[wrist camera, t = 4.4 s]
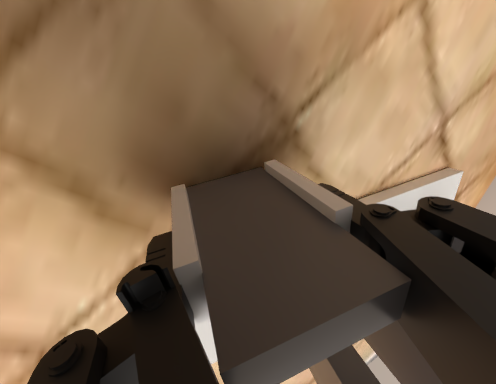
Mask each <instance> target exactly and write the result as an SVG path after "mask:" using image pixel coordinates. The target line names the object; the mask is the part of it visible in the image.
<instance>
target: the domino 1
mask: <svg viewBox="0 0 496 384" xmlns="http://www.w3.org/2000/svg"><path fill="white" fill-rule="evenodd" d="M186 190H187V194H188V199H189V204H190V209H191V215H192V220H193V225H194V230H195V235H196V240H197V246H198V251H199V256H200V261H201V266H202V272H203V273H202V279H203V284H204V290H205V295H206V300H207V306H208V311H209V317H210V322H211V327H212V333H213V338H214V344H215V349H216V355H217V360H218V365H219V371H220V375H221V377H222V380H223V382H224V384H280V383H282V382H284V381H285V380H287V379H289V378H291V377H293V376H295V375H296V374H298V373H300V372H302V371H304V370H306V369H308V368H309V367H311V366H313V365H315V364H317V363H319V362H321V361H322V360H324V359H326V358H328V357H330V356H332V355H334V354H335V353H337V352H339V351H341V350H343V349H345V348H346V347H348V346H350V345H352V344H354V343H356V342H358V341H359V340H361V339H363V338H365V337H367V336H369V335H371V334H372V333H374V332H376V331H378V330H380V329H382V328H384V327H385V326H387V325H389V324H391V323H393V322H395V321H397V320H398V319H400V318H401V315H402V311H403V308H404V304H405V301H406V298H407V294H408V291H409V287H410V284H411V279H410V278H409V277H407V276H406V275H405V274H403V273H402V272H401V271H399V270H398V269H397V268H395V267H394V266H393V265H391V264H390V263H389V262H387V261H386V260H385V259H383V258H382V257H381V256H379V255H378V254H377V253H375V252H374V251H373V250H371V249H370V248H369V247H367V246H366V245H365V244H363V243H362V242H361V241H359V240H358V239H357V238H355V237H354V236H353V235H351V234H350V233H349V232H347V231H346V230H345V229H343V228H342V227H341V226H339V225H338V224H337V223H334V222H332V221H331V220H330V219H329V218H327V217H326V216H325V215H323V214H322V213H321V212H319V211H318V210H317V209H315V208H314V207H313V206H311V205H310V204H309V203H307V202H306V201H305V200H303V199H302V198H301V197H299V196H298V195H297V194H295V193H294V192H293V191H291V190H290V189H289V188H287V187H286V186H285V185H283V184H282V183H281V182H280V181H278V180H277V179H276V178H274V177H273V176H272V175H270V174H269V173H268V172H266V171H265V170H264V169H263V168H262V167H259V168H256V169H252V170H248V171H245V172H241V173H237V174H234V175H230V176H227V177H223V178H219V179H216V180H212V181H208V182H205V183H201V184H197V185H194V186H190V187H186Z"/></svg>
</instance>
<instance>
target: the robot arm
mask: <svg viewBox="0 0 496 384" xmlns="http://www.w3.org/2000/svg"><path fill="white" fill-rule="evenodd" d="M264 167H265V171H266V172H268V173H269V174H270V175H272V176H273V177H274V178H276V179H277V180H278V181H280V182H281V183H282V184H283V185H285V186H286V187H287V188H289V189H290V190H291V191H293V192H294V193H295V194H297V195H298V196H299V197H301V198H302V199H303V200H305V201H306V202H307V203H309V204H310V205H311V206H313V207H314V208H315V209H317V210H318V211H319V212H321V213H322V214H323V215H325V216H326V217H327V218H329V219H330V220H331V221H332V222H334V223H337V224H338V225H339V226H341V227H342V228H343V229H345V230H346V231H347V232H349V233H350V234H351V235H353V236H354V237H355V238H357V239H358V240H359V241H361V242H362V243H363V244H365V245H366V246H367V247H369V248H370V249H371V250H373V251H374V252H375V253H377V254H378V255H379V256H381V257H382V258H383V259H385V260H386V261H387V262H389V263H390V264H391V265H393V266H394V267H395V268H397V269H398V270H399V271H401V272H402V273H403V274H405V275H406V276H407V277H409V278H410V279H411V284H410V287H409V291H408V294H407V298H406V301H405V304H404V308H403V311H402V315H401V318H400V319H398V320H397V321H398V322H399V324H400V325H401V327H402V328H403V329H404V331H405V332H406V333H407V335H408V336H409V338H410V339H411V340H412V342H413V343H414V345H415V346H416V347H417V349H418V350H419V351H420V353H421V354H422V356H423V357H424V358H425V360H426V361H427V362H428V364H429V365H430V367H431V368H432V369H433V371H434V372H435V374H436V375H437V376H438V378H439V379H440V380H441V382H442V383H443V384H496V216H495V215H492V214H489V213H487V212H484V211H481V210H478V209H476V208H473V207H470V206H467V205H465V204H462V203H459V202H457V201H454V200H450V199H447V198H442V197H438V196H434V197H433V196H430V197H424V198H421V199H419V200H418V203H417V207H416V209H415V210H406V211H399V210H398V209H396V208H394V207H392V206H389V205H385V204H369V205H366V204H364V203H362V202H360V201H359V200H357V199H355V198H353V197H351V196H349V195H348V194H345V193H344V192H342V191H339V190H338V189H337V188H335V187H333V186H331V185H327V184H323V183H320V184H316V183H315V182H313V181H311V180H309V179H308V178H306V177H304V176H303V175H301V174H299V173H297V172H296V171H294V170H292V169H291V168H289V167H287V166H285V165H284V164H282V163H280V162H279V161H277V160H275V159H274V160H271V161H267V162H264ZM171 208H172V231H170V232H167V233H164V234H161V235H158V236H155V237H153V239H152V240H151V242H150V243H149V245H148V248H147V256H146V263H145V264H142V265H139V266H138V267H136V268H135V269H133V270H131V271H130V272H129V273H128V274H127V275H126V276H125V277H123V278H122V280H121V282H120V283H119V285H118V286H117V291H116V295H117V296H118V298H119V299H120V301H121V302H122V304H123V305H124V307H125V308H126V310H127V311H128V313H127V314H126V315H125V316H124V317H123V318H121V319H120V320H119V321H117V322H116V323H114V324H113V325H111V326H110V327H108V328H107V329H105V330H104V331H102V332H101V333H99V334H98V335H97V334H96V333H95V332H94V330H89V329H84V330H79V331H76V332H74V333H72V334H70V335H68V336H66V337H64V338H63V339H62V340H61V341H59V342H58V343H57V344H55V345H54V346H53V347H52V348H51V349H50V350H49V351H48V352H47V353H46V354H45V355H44V356H43V358H42V359H41V360H40V362H39V363H38V365H37V366H36V368H35V370H34V371H33V373H32V375H31V377H30V379H29V381H28V383H27V384H219V382H218V380H217V378H216V375H215V373H214V371H213V368H212V366H211V364H210V361H209V359H208V357H207V355H206V352H205V350H204V348H203V345H202V343H201V341H200V338H199V336H198V334H197V332H196V329H195V321H194V318H195V320H196V323H197V324H199V323H201V322H204V321H206V320H208V319H210V317H209V311H208V306H207V300H206V295H205V290H204V284H203V279H202V273H203V272H202V266H201V261H200V256H199V251H198V246H197V240H196V235H195V230H194V225H193V220H192V215H191V209H190V204H189V199H188V194H187V190H186V187H185V184H181V185H178V186H174V187H171ZM455 237H456V238H458V239H460V240H462V241H464V242H465V243H464V245H463V247H462V250H461V252H460V253H458V252H456V251H455V250H453V249H452V248H451V247H452V244H453V242H454V239H455Z"/></svg>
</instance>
